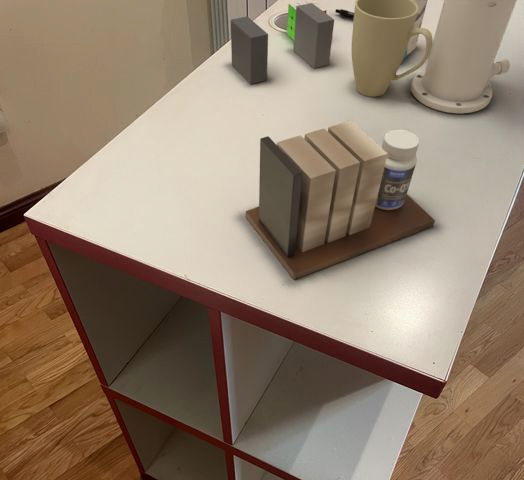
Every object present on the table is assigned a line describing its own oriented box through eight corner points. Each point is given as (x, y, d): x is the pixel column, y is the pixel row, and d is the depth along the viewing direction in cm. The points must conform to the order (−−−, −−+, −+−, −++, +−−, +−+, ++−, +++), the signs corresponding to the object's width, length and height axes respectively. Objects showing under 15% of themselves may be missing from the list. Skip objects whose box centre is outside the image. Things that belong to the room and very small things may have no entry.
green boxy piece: (298, 45, 91) (300, 14, 87) (286, 34, 94) (288, 3, 90) (323, 41, 92) (326, 10, 88) (311, 29, 95) (313, -1, 91)
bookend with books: (376, 173, 70) (397, 85, 60) (432, 226, 64) (465, 137, 54) (245, 217, 64) (244, 127, 54) (293, 280, 58) (302, 191, 48)
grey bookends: (307, 47, 91) (311, 2, 85) (329, 64, 87) (334, 19, 82) (231, 65, 86) (230, 19, 81) (250, 84, 83) (250, 37, 77)
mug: (348, 107, 79) (362, 22, 70) (338, 75, 85) (350, -8, 75) (418, 106, 80) (441, 21, 70) (403, 74, 86) (423, -8, 76)
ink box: (395, 67, 87) (419, -37, 75) (370, 58, 89) (388, -45, 77) (416, 48, 91) (441, -53, 79) (391, 40, 93) (412, -60, 81)
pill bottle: (380, 215, 63) (395, 154, 56) (359, 193, 66) (372, 132, 59) (411, 205, 64) (431, 144, 58) (390, 183, 67) (407, 123, 60)
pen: (332, 16, 98) (333, 9, 97) (336, 12, 99) (337, 6, 98) (400, 35, 94) (401, 28, 93) (403, 31, 95) (405, 24, 94)
